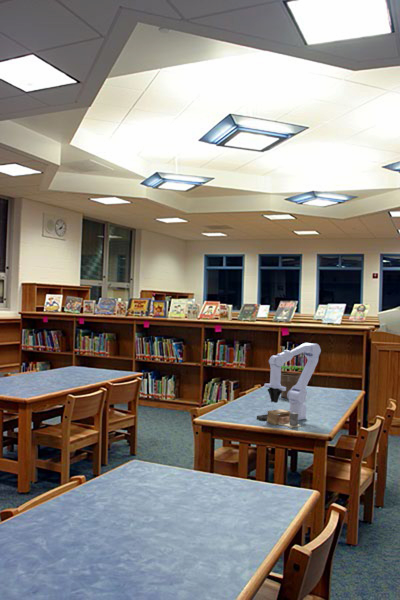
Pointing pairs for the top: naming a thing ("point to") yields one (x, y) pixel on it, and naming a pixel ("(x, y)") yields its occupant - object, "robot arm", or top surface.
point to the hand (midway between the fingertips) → (274, 402)
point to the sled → (285, 420)
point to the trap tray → (262, 417)
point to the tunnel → (273, 415)
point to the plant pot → (288, 382)
